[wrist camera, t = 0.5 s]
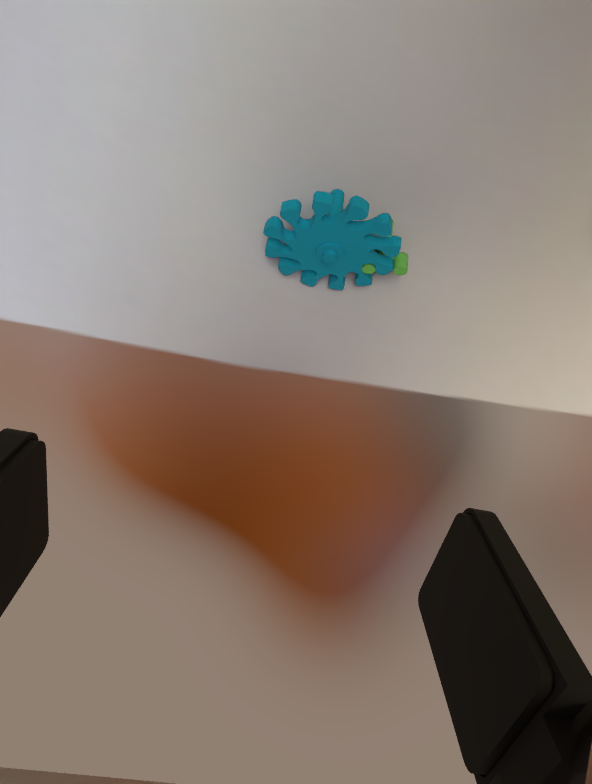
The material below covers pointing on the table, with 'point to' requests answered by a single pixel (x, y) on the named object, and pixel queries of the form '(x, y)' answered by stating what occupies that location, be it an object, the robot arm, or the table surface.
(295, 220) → the gear
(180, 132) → the table surface
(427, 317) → the table surface
